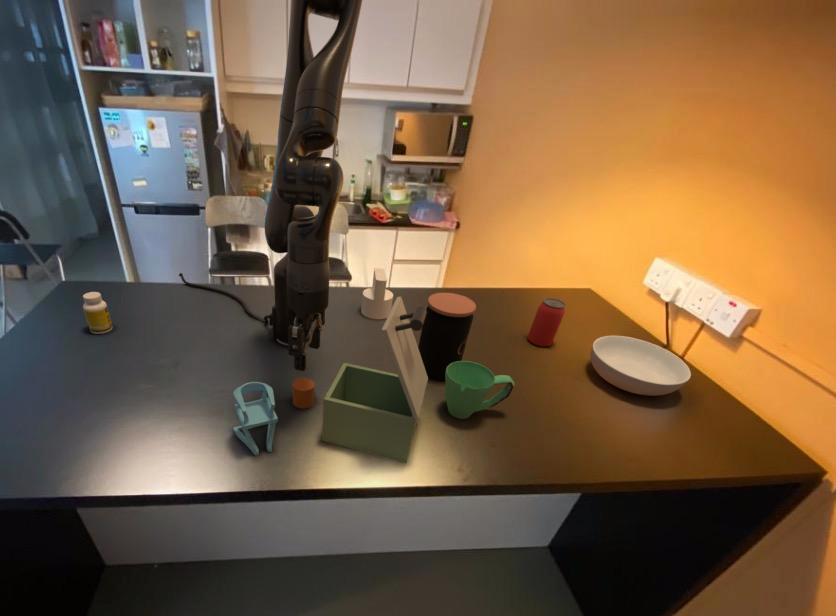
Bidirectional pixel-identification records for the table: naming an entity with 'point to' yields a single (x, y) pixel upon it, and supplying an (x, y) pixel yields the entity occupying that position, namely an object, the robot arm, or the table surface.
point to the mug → (472, 388)
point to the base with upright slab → (377, 297)
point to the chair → (255, 414)
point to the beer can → (546, 322)
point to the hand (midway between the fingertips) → (307, 358)
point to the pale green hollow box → (368, 413)
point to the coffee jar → (445, 332)
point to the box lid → (407, 352)
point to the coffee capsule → (303, 393)
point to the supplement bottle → (97, 313)
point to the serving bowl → (638, 365)
